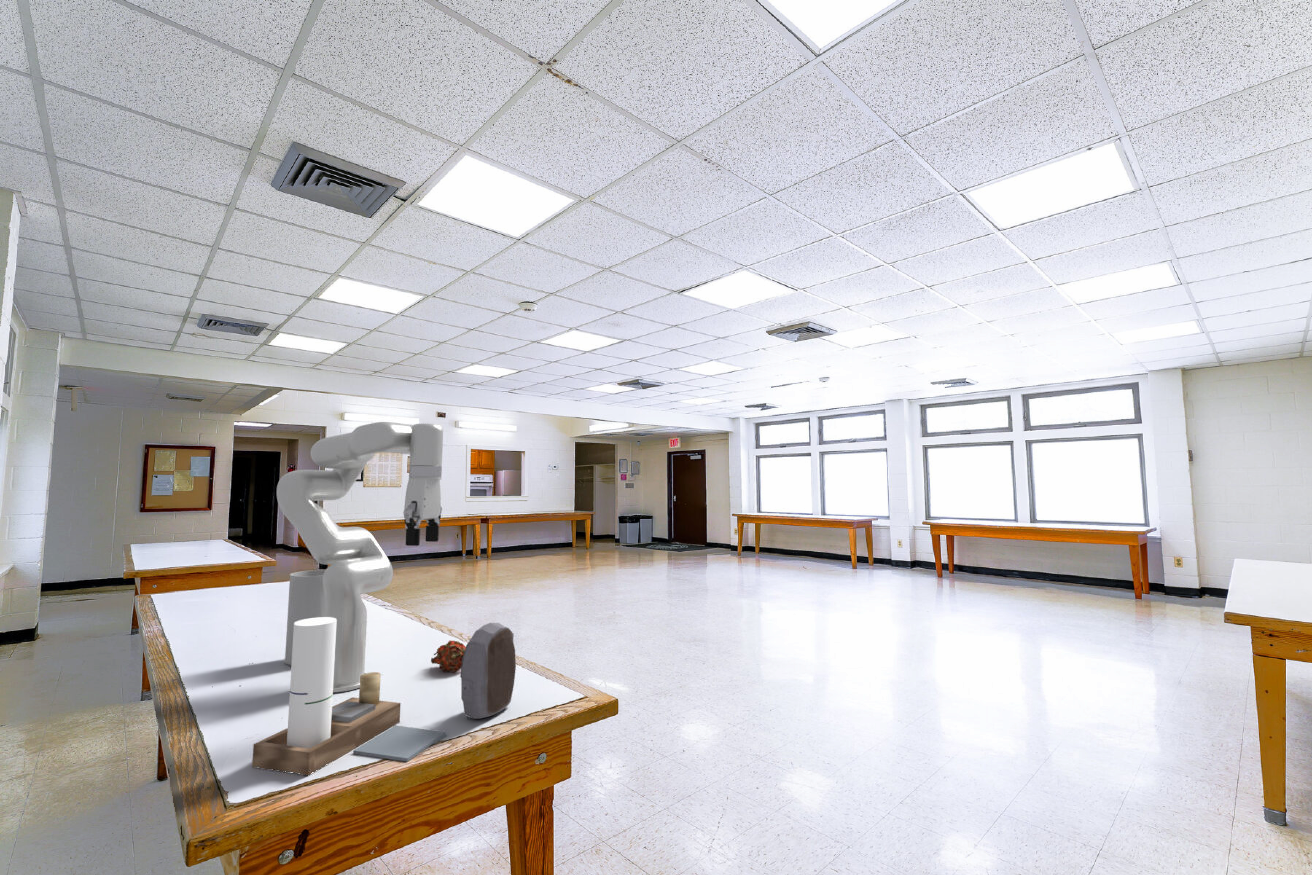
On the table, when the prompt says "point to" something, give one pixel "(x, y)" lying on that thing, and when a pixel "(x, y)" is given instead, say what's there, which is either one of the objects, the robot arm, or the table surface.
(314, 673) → the cylindrical container
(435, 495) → the robot arm
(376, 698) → the wooden divided tray
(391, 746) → the mat
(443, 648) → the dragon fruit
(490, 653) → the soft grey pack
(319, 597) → the cylinder vase
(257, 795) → the table surface
